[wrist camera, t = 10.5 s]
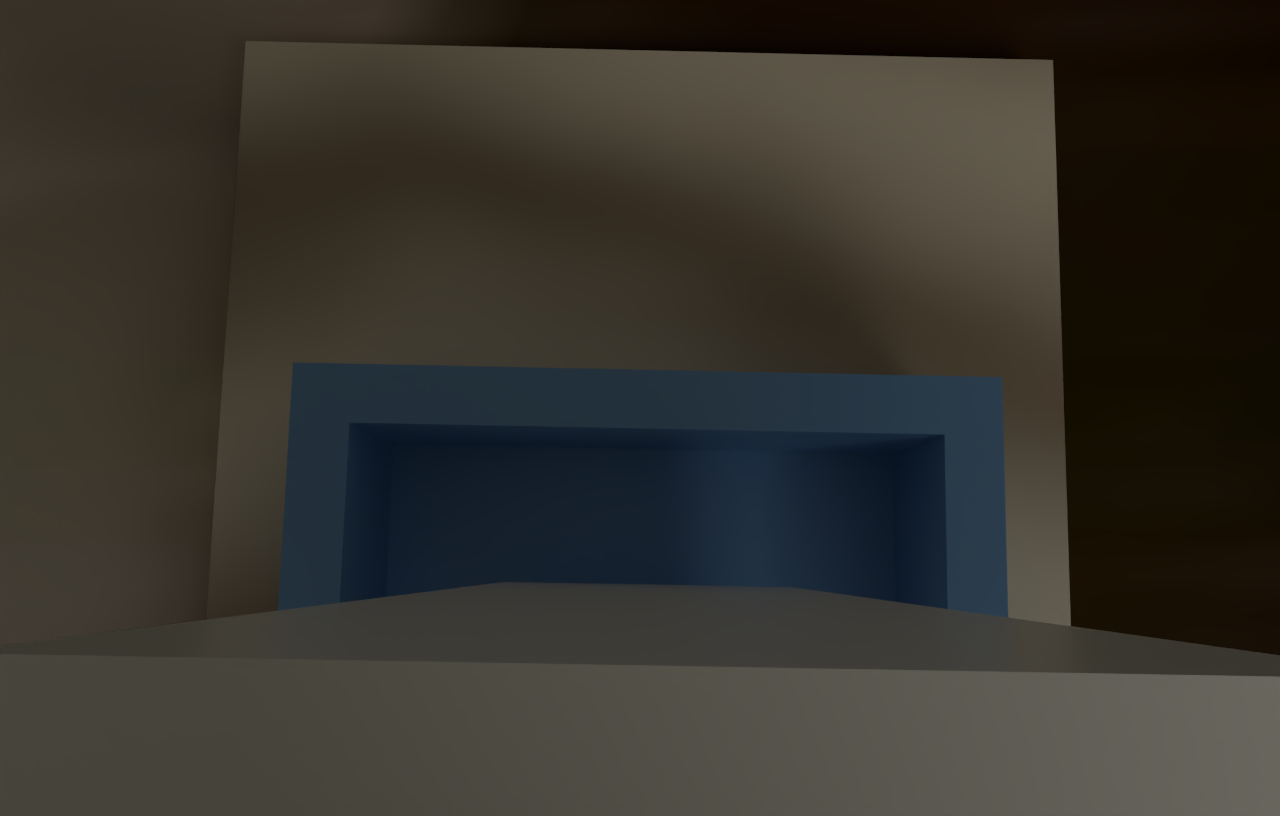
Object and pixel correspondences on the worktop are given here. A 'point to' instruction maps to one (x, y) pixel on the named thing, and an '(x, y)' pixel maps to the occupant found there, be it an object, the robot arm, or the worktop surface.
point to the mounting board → (641, 242)
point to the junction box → (643, 482)
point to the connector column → (634, 711)
